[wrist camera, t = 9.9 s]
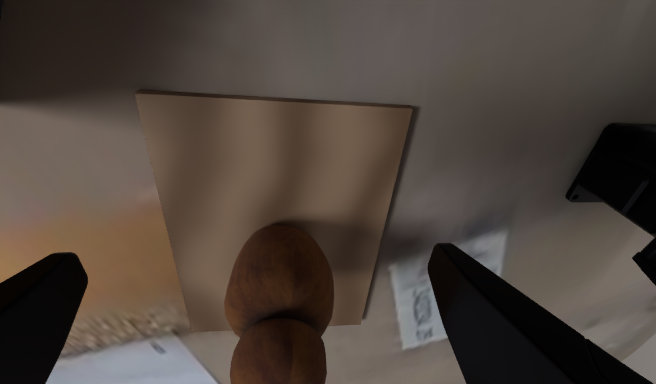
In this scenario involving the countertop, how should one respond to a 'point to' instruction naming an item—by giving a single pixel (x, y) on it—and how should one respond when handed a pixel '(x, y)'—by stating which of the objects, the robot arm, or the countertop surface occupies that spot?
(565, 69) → the countertop surface
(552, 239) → the countertop surface
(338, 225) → the light brown wooden board
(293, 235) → the wooden figurine
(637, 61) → the countertop surface
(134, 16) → the countertop surface
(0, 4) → the ammunition clip
